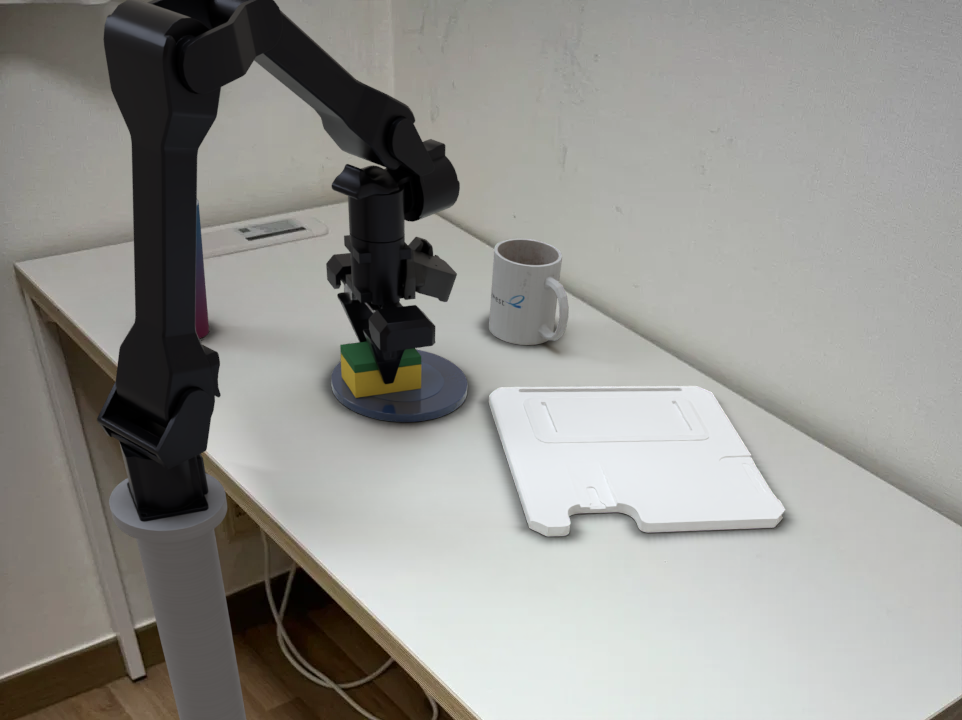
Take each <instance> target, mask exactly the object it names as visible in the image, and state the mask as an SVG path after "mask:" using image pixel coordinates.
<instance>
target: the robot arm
mask: <svg viewBox="0 0 962 720" xmlns="http://www.w3.org/2000/svg"><path fill="white" fill-rule="evenodd" d="M102 39H103V47H104V54H105V59H106V61H105V62H106V66H107V72H108V73H107V74H108V79H109V85H110V91H111V93H112V96H113V98H114V100H115V103H116V105H117V107H118V110H119V112H120V115H121V117H122V118H123V121H124V123H125V125H126V128H127V130H128V132H129V135H130V140H131V141H130V142H131V168H132V169H131V177H132V220H133V222H132V223H133V227H132V228H133V266H134V270H133V271H134V310H135V311H134V312H135V313H134V315H135V318H134V322H133V324H132V325H131V328H130V329H129V331H128V332H127V334H126V336H125V337H124V338H123V341H122V342H121V344H120V345H119V350H118V356H117V357H118V358H117V366H116V375H115V382H114V383H113V385H112V387H111V389H110V392H109V393H108V395H107V398H106V400H105V401H104V404H103V405H102V407H101V410H100V411H99V413H98V415H97V418H96V421H97V423H98V425H99V426H100V427H101V429H102V430H103V432H104V433H105V435H106V436H108V437H109V438H114V439H115V440H117V441H118V443H119V447H120V451H121V455H122V460H123V463H124V468H125V473H126V477H127V478H128V481H129V482H128V483H127V487H128V490H129V493H130V495H131V498H132V501H133V503H134V506H135V509H136V511H137V514H138V517H139V519H140V521H143V522H145V521H151V520H157V519H162V518H168V517H173V516H179V515H184V514H190V513H195V512H201V511H206V510H208V509H209V506H208V502H207V500H206V498H205V496H204V495H206V494H208V492H209V491H208V485H207V479H206V469H205V468H206V467H205V463H204V462H205V461H204V458H203V455H202V454H203V453H204V452H206V451H207V450H208V443H209V435H210V430H211V422H212V416H213V414H214V412H215V411H214V410H215V403H216V398H221V391H220V388H219V373H220V366H221V360H220V354H219V352H218V351H216V350H214V349H213V348H210V347H208V346H206V345H204V344H202V342H201V341H200V338H198V335H197V333H196V328H195V302H196V223H197V199H198V154H199V149H200V147H201V145H202V143H203V142H204V140H205V138H206V136H207V135H208V134H209V132H210V130H211V128H212V126H213V125H214V123H215V121H216V119H217V116H218V111H219V105H220V98H221V91H222V87H224V86H226V85H228V84H230V83H232V82H234V81H236V80H238V79H240V78H242V77H244V76H245V75H246V74H247V72H248V71H249V69H250V68H251V66H252V64H253V63H254V62H255V63H257V64H258V65H259V66H260V67H261V68H263V69H264V70H265V71H266V72H267V73H269V74H270V75H271V76H273V78H275V80H278V81H279V82H280V83H281V84H283V85H284V86H285V87H286V88H288V90H290V91H291V92H292V93H293V94H295V95H296V96H297V97H298V98H299V99H301V100H302V101H303V102H304V103H306V104H307V105H308V106H310V108H312V109H313V110H314V111H315V113H316V114H317V115H318V116H319V117H320V120H321V124H322V128H323V130H324V131H325V132H326V134H327V135H328V136H329V137H330V139H332V141H333V142H334V143H335V144H336V146H337V147H338V148H339V149H340V150H341V151H342V152H345V153H347V154H349V155H351V156H354V157H357V158H359V159H363V160H365V161H368V162H371V163H373V165H367V166H363V167H362V168H360V167H357V166H355V165H352V164H349V163H346V164H345V165H344V167H343V169H342V171H341V172H340V173H339V174H338V175H336V176H335V177H334V179H333V181H332V183H331V187H330V188H331V189H332V190H333V191H334V192H337V193H339V194H342V195H345V196H347V209H348V210H347V211H348V230H349V231H348V232H349V234H346V235H345V234H344V235H343V242H344V243H343V245H344V247H345V248H346V249H347V251H348V252H347V253H335V254H332V256H331V257H330V258H329V259H328V260H327V262H326V263H325V265H326V266H325V267H326V279H327V282H328V283H329V284H330V285H331V287H332V288H333V290H339V289H340V288H341V286H342V284H343V292H339V293H337V300H338V301H339V303H340V305H341V307H342V309H343V311H344V314H345V315H346V317H347V319H348V321H349V323H350V326H351V327H352V330H353V332H354V334H355V336H356V338H357V341H358V342H368V345H369V347H370V350H371V352H372V355H373V357H374V360H375V362H376V365H377V368H378V370H379V373H380V375H381V377H382V380H383V382H384V384H391V383H393V382H394V380H395V377H396V374H397V371H398V368H399V364H400V361H401V358H402V355H403V353H404V350H406V349H413V348H415V349H419V348H427V347H433V346H434V345H435V344H436V325H435V324H434V322H433V321H432V320H431V318H429V316H427V314H426V313H425V312H424V310H422V309H421V308H420V307H419V306H418V305H416V304H411V305H403V304H402V303H401V302H400V301H401V299H403V300H404V301H409V300H416V294H420V295H424V296H428V297H432V298H435V299H437V300H438V301H439V302H442V303H448V301H449V299H450V297H451V293H452V290H453V287H454V285H455V281H456V279H457V276H458V273H457V271H455V269H453V267H452V266H450V264H449V263H448V262H447V261H445V260H444V259H443V258H441V257H440V255H438V254H434V248H433V245H432V244H431V243H430V242H429V241H428V240H427V239H426V238H422V237H420V236H415V237H414V238H413V239H412V240H411V241H410V243H406V240H405V239H406V237H405V235H406V232H405V230H406V229H405V224H406V223H405V221H406V222H412V223H414V222H418V221H420V220H422V219H425V218H427V217H430V216H432V215H435V214H438V213H440V212H442V211H445V210H449V209H450V208H452V207H453V206H454V205H455V204H456V203H457V201H458V199H459V196H460V190H461V183H460V180H459V178H458V174H457V171H456V168H455V167H454V165H453V163H452V161H451V160H450V159H449V158H448V157H447V156H446V144H445V143H443V142H442V141H441V142H440V141H438V140H435V139H432V138H430V139H426V140H422V138H421V136H420V134H419V132H418V129H417V128H416V126H415V123H416V117H415V115H414V112H413V110H412V109H411V108H410V105H407V104H406V103H404V102H402V101H401V100H399V99H397V98H395V97H393V96H391V95H389V94H388V93H386V92H383V91H381V90H379V89H377V88H374V87H372V86H370V85H368V84H365V83H363V82H362V81H361V80H358V79H356V77H354V76H353V75H352V74H351V73H350V72H349V71H348V70H346V69H345V68H344V67H343V66H342V65H341V64H340V63H339V62H338V61H337V60H336V59H334V58H333V57H332V56H331V55H330V53H328V52H327V51H326V50H325V49H324V48H322V47H321V46H320V45H319V44H318V43H317V42H316V41H314V39H312V37H310V36H309V34H307V33H306V32H305V31H304V30H303V29H302V28H300V26H298V25H297V24H296V23H295V21H293V20H292V19H291V18H290V17H288V16H287V15H286V13H284V12H283V10H281V9H280V7H279V5H278V4H277V3H276V1H275V0H149V1H148V2H147V1H143V0H125V1H122V2H121V3H119V4H118V5H117V6H116V8H115V9H114V10H113V12H112V13H111V14H108V15H107V16H106V19H105V22H104V28H103V37H102ZM374 164H376V165H374Z"/></svg>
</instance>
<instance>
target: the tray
mask: <svg viewBox="0 0 962 720" xmlns="http://www.w3.org/2000/svg"><path fill="white" fill-rule="evenodd" d="M488 406H489V408H490V411H491V414H492V418H493V421H494V424H495V427H496V430H497V433H498V437H499V439H500V443H501V445H502V448H503V452H504V455H505V458H506V461H507V464H508V467H509V470H510V474H511V476H512V480H513V482H514V485H515V489H516V492H517V495H518V497H519V501H520V504H521V507H522V510H523V513H524V516H525V519H526V523H527V525H528V528H529V529H530V530H532V531H535V532H536V533H539V534H541V535H543V536H545V537H565V536H568V535H569V533H570V529H571V519H570V517H571V516H574V515H579V514H602V513H605V514H606V513H620V514H625V515H627V516H629V517H631V518H632V519H633V521H634V522H635V523H636V526H637V528H638V529H639V530H640V531H641V532H643V533H649V534H650V533H670V532H673V533H675V532H695V531H696V532H698V531H699V532H701V531H723V530H747V529H750V530H751V529H771V528H772V529H773V528H774V529H775V528H776V526H778V524H779V523H780V522H781V521H782V520H783V518H784V517H783V514H784V513H785V511H786V508H785V506H784V505H783V503H782V501H781V500H780V499H778V497H777V496H776V495H775V494H774V492H773V491H772V489H771V487H770V485H768V483H767V481H766V479H765V478H764V477H763V475H762V473H761V472H760V469H759V468H758V467H757V465H756V464H755V461H754V459H753V458H752V454H751V452H750V450H749V449H748V447H747V446H746V444H745V443H744V441H743V439H742V438H741V436H740V434H739V433H738V431H737V430H736V428H735V427H734V425H733V423H732V422H731V420H730V419H729V417H728V416H727V414H726V412H725V411H724V409H723V408H722V406H721V404H720V402H719V401H718V399H717V397H716V396H715V395H714V393H713V392H712V391H710V390H708V389H705V388H703V387H701V386H698V385H616V386H615V385H614V386H611V385H608V386H607V385H605V386H603V385H602V386H596V385H595V386H594V385H593V386H592V385H591V386H589V385H588V386H499V387H498V388H495V389H494V390H493V391H492V392H491V393H490V394H489V396H488Z"/></svg>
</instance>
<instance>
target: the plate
mask: <svg viewBox="0 0 962 720" xmlns="http://www.w3.org/2000/svg"><path fill="white" fill-rule="evenodd" d="M416 350H417V351H418V353H419V354H420V355H421V389H414V390H407V391H400V392H393V393H386V394H379V395H372V396H365V397H358V398H356V397H355V396H354V395H353V393H352V392H351V390H350V389H349V387H348V386H347V384H346V383H345V381H344V380H343V378H342V373H341V360H340V361H339V362H338V363H337V364H336V365H335V366H334V367H333V369H332V371H331V375H330V384H331V385H330V386H331V390H332V394H333V395H334V397H335V398H336V399H337V401H338V402H340V404H341V405H343V406H344V407H346V408H347V409H349V410H351V411H352V412H355V413H357V414H359V415H361V416H365V417H368V418H371V419H375V420H378V421H385V422H394V423H417V422H426V421H430V420H435V419H438V418H441V417H442V418H443V417H444V416H446V415H449V414H451V413H452V412H454V411H456V410H457V409H459V408H460V407H461V406H462V405H463V403H464V402H465V400H466V399H467V396H468V379H467V377H466V374H465V373H464V372H463V370H462V369H461V368H460V367H459V366H458V365H457V364H456V363H454V362H452V361H451V360H449V359H447V358H445V357H443V356H441V355H438V354H435V353H432V352H429V351H426V350H421V349H416Z"/></svg>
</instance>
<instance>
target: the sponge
mask: <svg viewBox="0 0 962 720" xmlns="http://www.w3.org/2000/svg"><path fill="white" fill-rule="evenodd" d="M339 347H340V348H339V349H340V350H339V351H340V361H341V373H342V378H343V380H344V381H345V383H346V384H347V386H348V387H349V389H350V390H351V392H352V393H353V395H354V396H355V397H356V398H358V397H365V396H372V395H379V394H386V393H393V392H400V391H407V390H414V389H421V355H420V354H419V353H418V351H417V350H418V349H417V348H413V349H406V350H404V353H403V355H402V358H401V361H400V364H399V368H398V371H397V374H396V377H395V380H394V382H393V383H391V384H384V382H383V380H382V377H381V375H380V373H379V370H378V368H377V365H376V362H375V360H374V357H373V355H372V352H371V350H370V347H369V345H368V342H359V341H358V342H352V343H351V342H350V343H344V344H340V345H339Z"/></svg>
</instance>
